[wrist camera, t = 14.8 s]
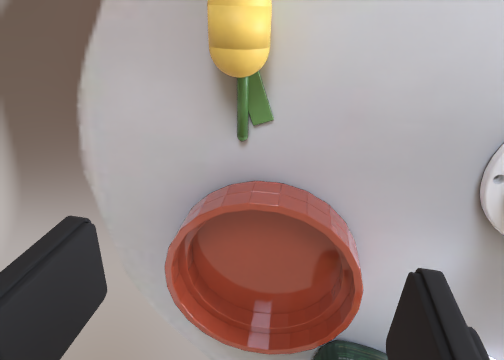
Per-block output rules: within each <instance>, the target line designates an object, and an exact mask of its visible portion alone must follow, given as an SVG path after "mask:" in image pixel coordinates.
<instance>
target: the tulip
mask: <svg viewBox="0 0 504 360" xmlns="http://www.w3.org/2000/svg"><path fill="white" fill-rule="evenodd" d="M207 7H208V38H209V51H210V54H211V58H212V60H213V62H214V63H215V65H216V66H217V67H218V68H219V69H220V70H221V71H222V72H223V73H225V74H227V75H229V76H233V77H237V137H238V139H239V140H240V141H245V140H246V139H247V137H248V111H249V114H250V117H251V120H252V123H253V125H257V124H261V123H265V122H268V121H272V120H273V119H274V118H273V115H272V112H271V109H270V106H269V102H268V99H267V96H266V93H265V90H264V86H263V83H262V80H261V77H260V74H259V71H258V70H260V69H261V67H262V66H263V65H264V64H265V62H266V60H267V58H268V55H269V49H270V33H271V11H272V5H271V0H208V4H207Z"/></svg>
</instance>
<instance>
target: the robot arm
mask: <svg viewBox="0 0 504 360" xmlns="http://www.w3.org/2000/svg"><path fill="white" fill-rule="evenodd" d="M480 199H481V205H482V208H483V211H484V213H485V215H486V217H487V218H488V220H489V221H490V222H491V223H492V225H493V226H494V227H495V228H496V229H497V230H498V231H499V232H500V233H501V234H502V235H503V236H504V144H502V146H501V147H500V148H499V149H498V151H497V152H496V153H495V154H494V156H493V157H492V158H491V160H490V162H489V164H488V166H487V168H486V169H485V172H484V175H483V178H482V181H481V188H480ZM106 293H107V285H106V280H105V274H104V269H103V264H102V259H101V253H100V248H99V243H98V238H97V233H96V228H95V226H94V224H92V223H91V221H90V220H89V219H88V218H82V217H76V216H68V217H66V218H65V219H63V220H62V221H61V222H60V223H59V224H57V225H56V226H55V227H54V228H53V229H51V230H50V231H49V232H48V233H47V234H46V235H44V236H43V237H42V238H41V239H40V240H38V241H37V242H36V243H35V244H34V245H32V246H31V247H30V248H29V249H28V250H26V251H25V252H24V253H23V254H22V255H20V256H19V257H18V258H17V259H16V260H14V261H13V262H12V263H11V264H10V265H8V266H7V267H6V268H5V269H4V270H2V271H1V272H0V360H60V359H61V357H62V356H63V355H64V353H65V352H66V351H67V349H68V348H69V346H70V345H71V344H72V342H73V341H74V339H75V338H76V337H77V335H78V334H79V333H80V331H81V330H82V329H83V327H84V326H85V325H86V323H87V322H88V321H89V319H90V318H91V316H92V315H93V314H94V312H95V311H96V310H97V308H98V307H99V305H100V304H101V303H102V301H103V300H104V298H105V296H106ZM386 352H387V357H388V360H490V358H489V356H488V354H487V352H486V350H485V348H484V346H483V344H482V341H481V339H480V337H479V335H478V334H477V332H476V331H475V330H474V329H473V328H472V327H468V326H467V325H466V323H465V320H464V318H463V316H462V314H461V312H460V309H459V307H458V305H457V303H456V301H455V298H454V296H453V294H452V292H451V290H450V287H449V285H448V283H447V281H446V279H445V277H444V275H443V273H442V272H441V271H436V270H429V269H422V268H418V269H417V270H416V272H415V273H413V272H410V273H409V274H408V276H407V279H406V282H405V285H404V288H403V291H402V294H401V297H400V300H399V303H398V306H397V309H396V312H395V315H394V318H393V321H392V324H391V327H390V330H389V333H388V336H387V339H386Z"/></svg>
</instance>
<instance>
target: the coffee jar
mask: <svg viewBox="0 0 504 360" xmlns="http://www.w3.org/2000/svg"><path fill="white" fill-rule="evenodd" d="M314 360H388V357H387V354H385V353H383V352H380V351H378V350H375V349H373V348H370V347H366V346H363V345H360V344H356V343H352V342H347V341H339V340H338V341H333V342H331V343H328V344H326V345H324V346H323V347H322V348H321V349H320V350H319V351H318V353H317V354H316V356H315V358H314Z"/></svg>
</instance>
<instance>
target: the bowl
mask: <svg viewBox="0 0 504 360" xmlns="http://www.w3.org/2000/svg"><path fill="white" fill-rule="evenodd" d="M165 274H166V282H167V287H168V289H169V292H170V294H171V296H172V298H173V300H174V303H175V304H176V306H177V307H178V308H179V309H180V311H181V312H182V313H183V314H184V316H185V317H186V318H187V319H188V320H189V321H190V322H191V323H192V324H194V325H195V326H196V327H197V328H199V329H200V330H201V331H202V332H204V333H205V334H207V335H209V336H210V337H212V338H214V339H216V340H218V341H220V342H222V343H224V344H226V345H229V346H232V347H235V348H238V349H241V350H244V351H250V352H256V353H263V354H291V353H297V352H301V351H306V350H310V349H314V348H316V347H318V346H320V345H323V344H325V343H327V342H329V341H331V340H332V339H334V338H335V337H336V336H337V335H339V334H340V333H341V332H342V331H344V330H345V329H346V328H347V327H348V326H349V324H350V323H351V321H352V320H353V318H354V317H355V315H356V314H357V312H358V310H359V307H360V303H361V298H362V294H363V284H362V277H361V270H360V264H359V259H358V254H357V249H356V243H355V240H354V238H353V236H352V234H351V232H350V230H349V228H348V226H347V224H346V223H345V221H344V220H343V219H342V218H341V217H340V216H339V215H338V214H337V213H336V212H335V211H334V210H333V208H332V207H331V206H330V205H328V204H327V203H325V202H324V201H322V200H320V199H319V198H317V197H316V196H314V195H312V194H311V193H309V192H307V191H305V190H302V189H299V188H296V187H293V186H290V185H287V184H284V183H275V182H264V181H251V182H244V183H238V184H231V185H228V186H226V187H224V188H221V189H219V190H217V191H214V192H212V193H210V194H208V195H207V196H206V197H205V198H203V199H202V200H201V201H200V202H198V203H197V204H196V205H195V206H194V207H193V208H192V209H191V211H190V212H189V214H188V215H187V217H186V219H185V220H184V222H183V223H182V225H181V227H180V229H179V230H178V232H177V234H176V236H175V237H174V239H173V241H172V243H171V244H170V246H169V248H168V253H167V258H166V262H165Z"/></svg>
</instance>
